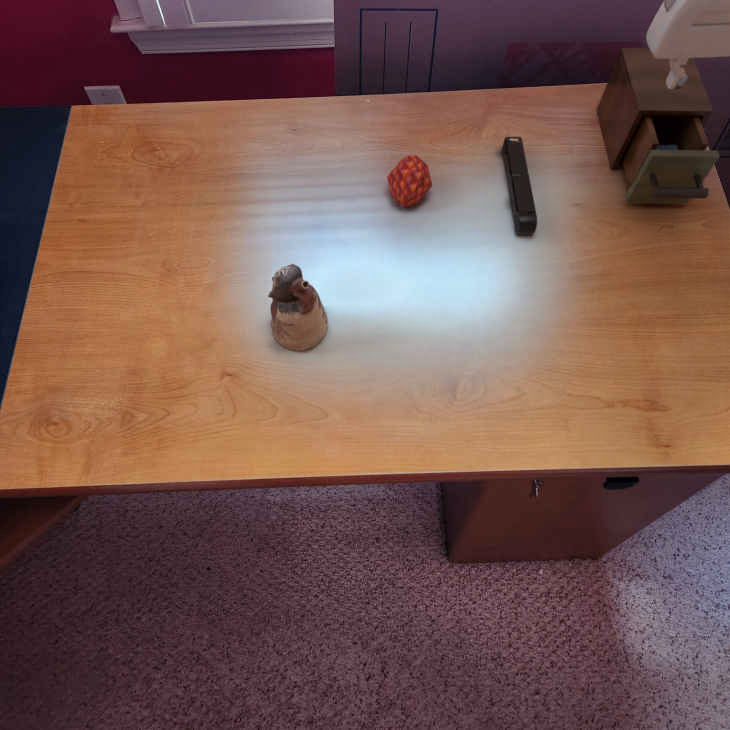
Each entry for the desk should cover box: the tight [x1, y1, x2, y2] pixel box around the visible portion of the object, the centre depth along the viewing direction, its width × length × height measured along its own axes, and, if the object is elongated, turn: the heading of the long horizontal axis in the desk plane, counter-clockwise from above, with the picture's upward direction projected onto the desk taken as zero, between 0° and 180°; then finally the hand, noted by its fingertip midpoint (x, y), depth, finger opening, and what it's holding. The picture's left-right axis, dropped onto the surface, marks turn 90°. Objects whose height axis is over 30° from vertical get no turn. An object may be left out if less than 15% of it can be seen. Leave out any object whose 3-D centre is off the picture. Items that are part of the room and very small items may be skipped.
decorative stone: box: [386, 154, 433, 208], centre depth 84 cm, size 6×7×8 cm
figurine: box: [267, 263, 329, 351], centre depth 70 cm, size 7×7×12 cm
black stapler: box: [501, 136, 538, 235], centre depth 85 cm, size 18×3×3 cm, turn 0°
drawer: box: [621, 115, 720, 205], centre depth 82 cm, size 16×9×9 cm, turn 178°
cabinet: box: [596, 47, 714, 171], centre depth 87 cm, size 14×10×11 cm
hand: (710, 84), depth 71 cm, fingers open, 8 cm apart
